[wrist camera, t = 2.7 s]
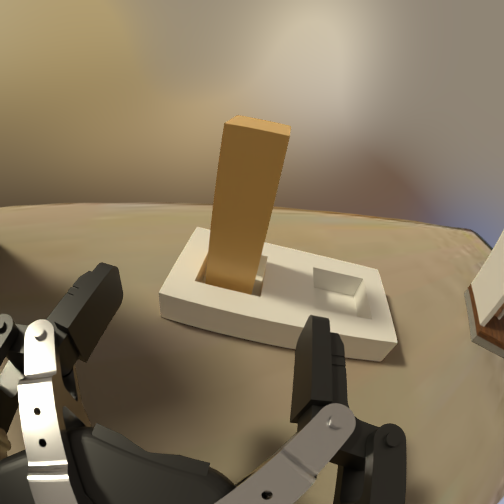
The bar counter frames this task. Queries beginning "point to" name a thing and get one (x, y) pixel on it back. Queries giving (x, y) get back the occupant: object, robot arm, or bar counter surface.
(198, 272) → the white socket board
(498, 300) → the white tower
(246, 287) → the plug
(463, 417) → the bar counter surface
